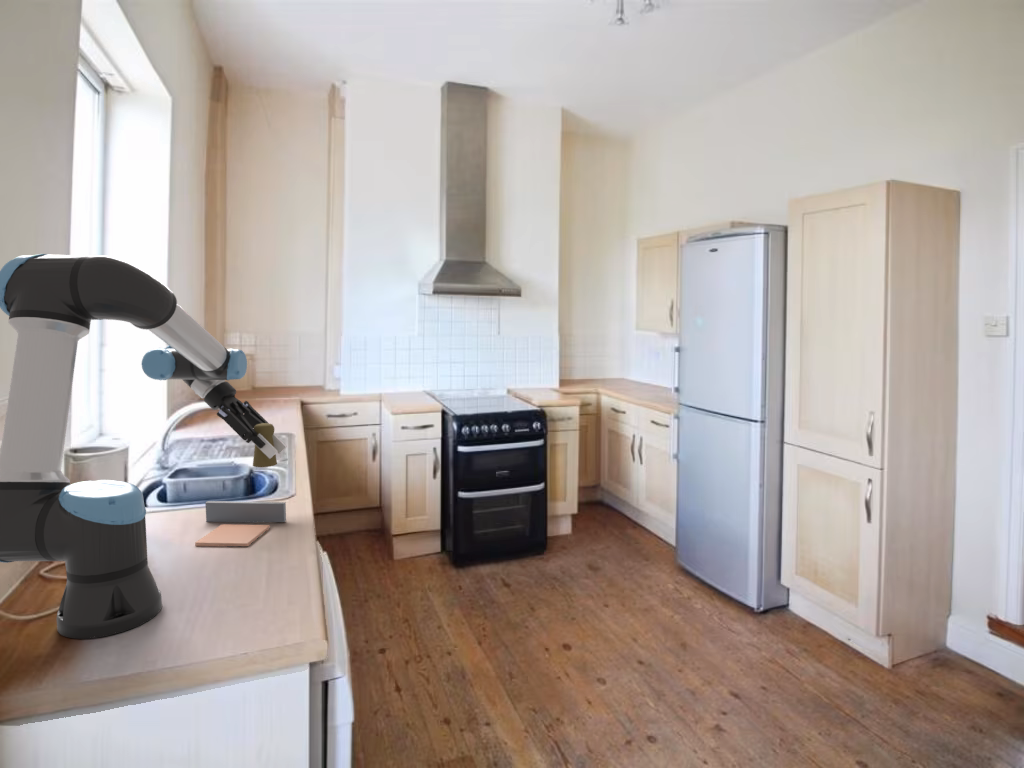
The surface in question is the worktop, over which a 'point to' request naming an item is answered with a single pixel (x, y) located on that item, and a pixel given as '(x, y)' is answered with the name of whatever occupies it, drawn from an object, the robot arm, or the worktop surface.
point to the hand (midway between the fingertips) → (278, 452)
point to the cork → (259, 456)
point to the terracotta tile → (232, 535)
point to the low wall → (245, 511)
